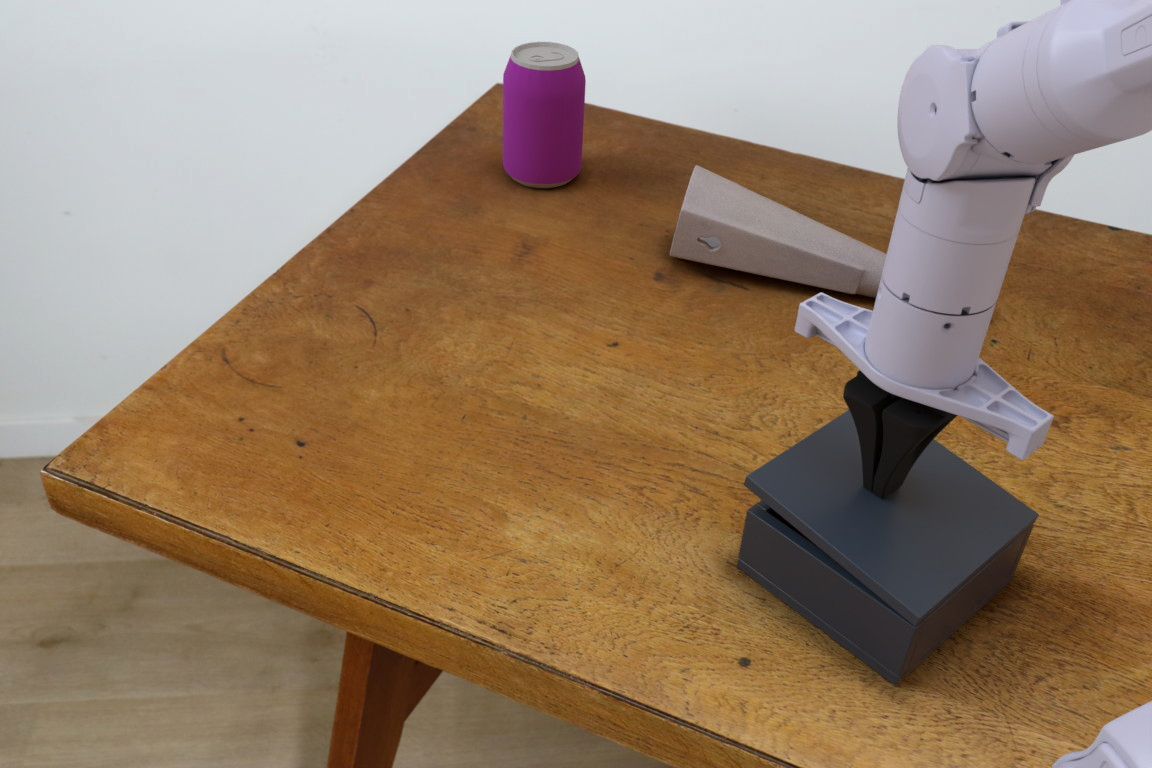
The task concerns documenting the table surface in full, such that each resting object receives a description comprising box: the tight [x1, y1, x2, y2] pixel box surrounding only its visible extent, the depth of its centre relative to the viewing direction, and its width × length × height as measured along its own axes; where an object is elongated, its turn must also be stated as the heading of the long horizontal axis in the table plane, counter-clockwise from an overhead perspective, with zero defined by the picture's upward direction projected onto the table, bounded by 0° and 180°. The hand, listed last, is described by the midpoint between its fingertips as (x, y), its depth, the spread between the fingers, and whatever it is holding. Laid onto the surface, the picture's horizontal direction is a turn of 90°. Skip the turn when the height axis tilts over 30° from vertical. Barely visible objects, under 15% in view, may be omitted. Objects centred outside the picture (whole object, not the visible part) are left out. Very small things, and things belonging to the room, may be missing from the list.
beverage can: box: [502, 41, 587, 189], centre depth 105 cm, size 8×8×12 cm
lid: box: [743, 409, 1040, 627], centre depth 64 cm, size 12×12×1 cm
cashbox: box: [736, 499, 1035, 687], centre depth 66 cm, size 12×12×5 cm
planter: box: [669, 164, 887, 299], centre depth 94 cm, size 8×9×26 cm
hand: (882, 485), depth 64 cm, fingers closed
